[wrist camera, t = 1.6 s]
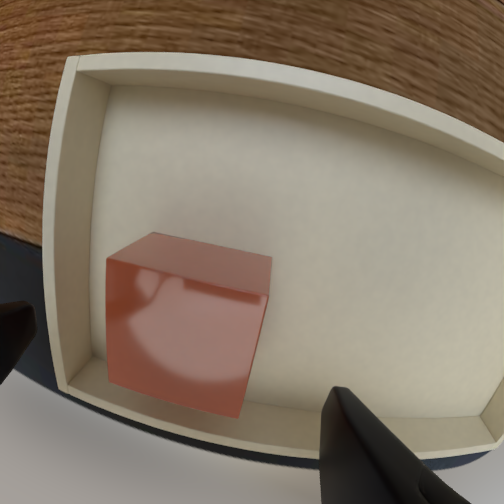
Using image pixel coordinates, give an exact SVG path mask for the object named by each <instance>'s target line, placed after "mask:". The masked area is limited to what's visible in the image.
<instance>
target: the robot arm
mask: <svg viewBox="0 0 504 504" xmlns="http://www.w3.org/2000/svg"><path fill="white" fill-rule="evenodd" d="M36 333H37V321H36V313H35V308H34V306H33V305H32V304H30V303H28V302H26V301H18V302H11V303H5V304H0V385H1V384H2V382H3V381H4V380H5V379H6V377H7V376H8V375H9V373H10V372H11V371H12V369H13V368H14V367H15V365H16V364H17V362H18V361H19V359H20V358H21V356H22V355H23V353H24V351H25V350H26V348H27V347H28V345H29V344H30V342H31V341H32V339H33V338H34V337H35V335H36ZM319 471H320V485H321V502H322V504H471V503H470V502H468V501H467V500H466V499H464V498H463V497H462V496H460V495H459V494H458V493H456V492H455V491H454V490H453V489H452V488H450V487H449V486H448V485H447V484H445V483H444V482H443V481H442V480H441V479H440V478H439V477H438V476H437V475H436V474H435V473H434V472H432V471H431V470H430V469H429V468H428V467H427V466H426V465H424V463H423V462H422V461H421V460H420V459H419V458H418V457H417V456H416V455H415V454H414V453H413V452H412V451H411V450H410V449H409V448H408V447H407V446H406V445H405V444H404V443H403V442H402V441H401V440H400V439H399V438H398V437H397V436H396V435H395V434H393V433H392V432H391V431H390V430H389V429H388V428H387V427H386V426H385V425H384V424H383V423H382V422H381V421H380V420H379V419H378V418H377V417H376V416H375V415H374V414H373V413H372V412H371V411H370V410H369V409H368V407H367V406H366V405H365V404H364V403H363V402H362V401H361V400H360V399H359V398H358V397H357V396H356V395H355V394H354V393H353V392H352V391H351V390H350V389H349V388H347V387H340V386H334V387H332V388H331V390H330V392H329V395H328V397H327V399H326V401H325V403H324V406H323V408H322V412H321V428H320V449H319Z"/></svg>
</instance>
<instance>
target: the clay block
mask: <svg viewBox="0 0 504 504" xmlns="http://www.w3.org/2000/svg"><path fill="white" fill-rule="evenodd" d="M272 260H273V258H272V257H270V256H265V255H261V254H256V253H251V252H246V251H242V250H237V249H232V248H228V247H223V246H218V245H214V244H209V243H204V242H199V241H195V240H190V239H185V238H181V237H176V236H171V235H167V234H162V233H157V232H151V233H149V234H147V235H146V236H144V237H142V238H140V239H138V240H137V241H135V242H133V243H131V244H130V245H128V246H126V247H124V248H122V249H121V250H119V251H117V252H115V253H114V254H112V255H110V256H109V257H107V258H106V280H105V323H106V350H107V367H108V380H109V382H110V383H112V384H115V385H118V386H121V387H123V388H126V389H129V390H132V391H135V392H138V393H141V394H144V395H147V396H150V397H153V398H157V399H160V400H163V401H167V402H170V403H174V404H177V405H181V406H184V407H188V408H192V409H196V410H200V411H204V412H208V413H212V414H217V415H221V416H226V417H230V418H235V419H238V418H239V416H240V412H241V408H242V404H243V400H244V397H245V393H246V389H247V385H248V381H249V377H250V373H251V369H252V365H253V361H254V357H255V353H256V349H257V345H258V341H259V337H260V333H261V329H262V325H263V321H264V317H265V313H266V308H267V304H268V300H269V294H270V283H271V272H272Z"/></svg>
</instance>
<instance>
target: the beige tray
mask: <svg viewBox="0 0 504 504" xmlns="http://www.w3.org/2000/svg"><path fill="white" fill-rule="evenodd" d="M151 232H157V233H162V234H167V235H171V236H176V237H181V238H185V239H190V240H195V241H199V242H204V243H209V244H214V245H218V246H223V247H228V248H232V249H237V250H242V251H246V252H251V253H256V254H261V255H265V256H270V257H272V258H273V260H272V272H271V283H270V294H269V300H268V304H267V308H266V313H265V317H264V321H263V325H262V329H261V333H260V337H259V341H258V345H257V349H256V353H255V357H254V361H253V365H252V369H251V373H250V377H249V381H248V385H247V389H246V393H245V397H244V400H243V404H242V408H241V412H240V416H239V418H238V419H235V418H230V417H226V416H221V415H217V414H212V413H208V412H204V411H200V410H196V409H192V408H188V407H184V406H181V405H177V404H174V403H170V402H167V401H163V400H160V399H157V398H153V397H150V396H147V395H144V394H141V393H138V392H135V391H132V390H129V389H126V388H123V387H121V386H118V385H115V384H112V383H110V382H109V380H108V367H107V350H106V323H105V280H106V258H107V257H109V256H110V255H112V254H114V253H115V252H117V251H119V250H121V249H122V248H124V247H126V246H128V245H130V244H131V243H133V242H135V241H137V240H138V239H140V238H142V237H144V236H146V235H147V234H149V233H151ZM42 251H43V279H44V294H45V306H46V316H47V324H48V332H49V339H50V346H51V352H52V358H53V364H54V369H55V374H56V379H57V384H58V389H59V390H61V391H64V392H66V393H69V394H70V395H72V396H74V397H77V398H79V399H81V400H83V401H86V402H88V403H90V404H93V405H95V406H98V407H100V408H103V409H105V410H108V411H110V412H113V413H115V414H118V415H121V416H124V417H126V418H129V419H132V420H135V421H138V422H141V423H144V424H147V425H150V426H153V427H156V428H159V429H163V430H166V431H169V432H173V433H176V434H180V435H183V436H187V437H191V438H195V439H199V440H203V441H207V442H211V443H216V444H220V445H225V446H230V447H235V448H240V449H246V450H251V451H257V452H263V453H270V454H277V455H285V456H293V457H302V458H313V459H319V449H320V428H321V412H322V408H323V406H324V403H325V401H326V399H327V397H328V395H329V392H330V390H331V388H332V387H334V386H340V387H347V388H349V389H350V390H351V391H352V392H353V393H354V394H355V395H356V396H357V397H358V398H359V399H360V400H361V401H362V402H363V403H364V404H365V405H366V406H367V407H368V409H369V410H370V411H371V412H372V413H373V414H374V415H375V416H376V417H377V418H378V419H379V420H380V421H381V422H382V423H383V424H384V425H385V426H386V427H387V428H388V429H389V430H390V431H391V432H392V433H393V434H395V435H396V436H397V437H398V438H399V439H400V440H401V441H402V442H403V443H404V444H405V445H406V446H407V447H408V448H409V449H410V450H411V451H412V452H413V453H414V454H415V455H416V456H417V457H418V458H419V459H431V458H441V457H450V456H457V455H464V454H471V453H477V452H483V451H488V450H493V449H497V448H498V447H499V445H500V444H501V443H502V442H503V440H504V143H503V142H501V141H499V140H497V139H495V138H494V137H492V136H490V135H488V134H486V133H484V132H482V131H480V130H478V129H476V128H474V127H472V126H470V125H468V124H466V123H464V122H462V121H460V120H457V119H455V118H453V117H451V116H449V115H446V114H444V113H442V112H439V111H437V110H435V109H432V108H430V107H427V106H425V105H422V104H420V103H417V102H415V101H412V100H409V99H407V98H404V97H401V96H399V95H396V94H393V93H390V92H387V91H384V90H381V89H378V88H375V87H372V86H368V85H365V84H362V83H358V82H355V81H351V80H348V79H344V78H340V77H337V76H333V75H329V74H325V73H321V72H316V71H312V70H307V69H303V68H298V67H293V66H288V65H282V64H277V63H271V62H265V61H259V60H252V59H244V58H237V57H228V56H218V55H207V54H193V53H172V52H125V53H104V54H91V55H82V56H80V55H79V56H70V57H67V60H66V64H65V68H64V71H63V75H62V79H61V83H60V88H59V92H58V97H57V101H56V106H55V111H54V117H53V122H52V128H51V134H50V141H49V148H48V156H47V165H46V174H45V186H44V201H43V228H42Z"/></svg>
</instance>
